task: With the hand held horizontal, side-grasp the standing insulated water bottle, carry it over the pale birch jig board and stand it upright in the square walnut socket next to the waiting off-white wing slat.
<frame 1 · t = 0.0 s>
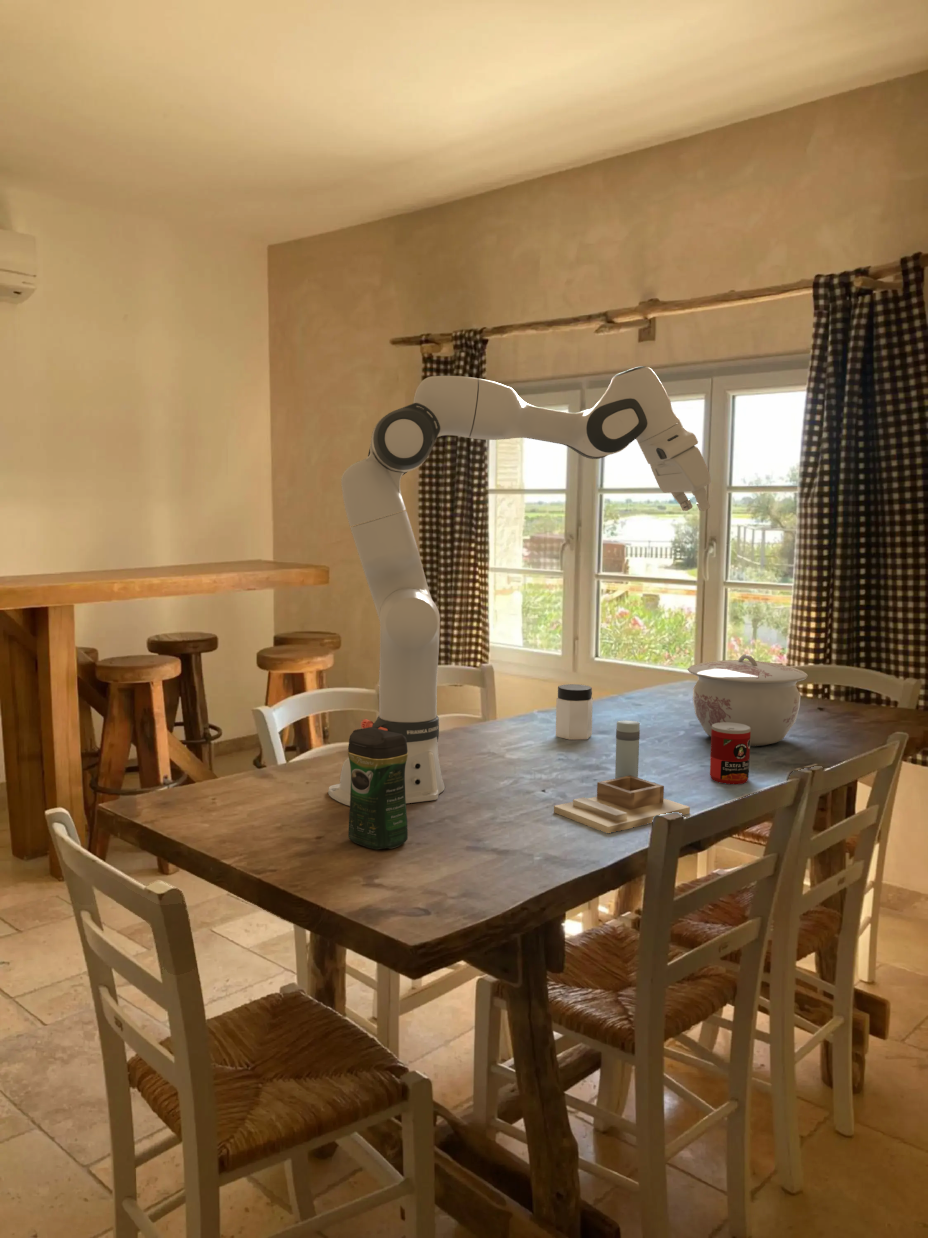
hand: (696, 509, 188), 54 cm above the table, tool tilted 30°, fingers open, 8 cm apart
insulated water bottle: (626, 788, 189), on the table
canned food: (728, 780, 196), on the table
coffee jar: (378, 843, 157), on the table
jig: (621, 813, 174), on the table
jar: (573, 737, 233), on the table
chamber pot: (744, 740, 231), on the table
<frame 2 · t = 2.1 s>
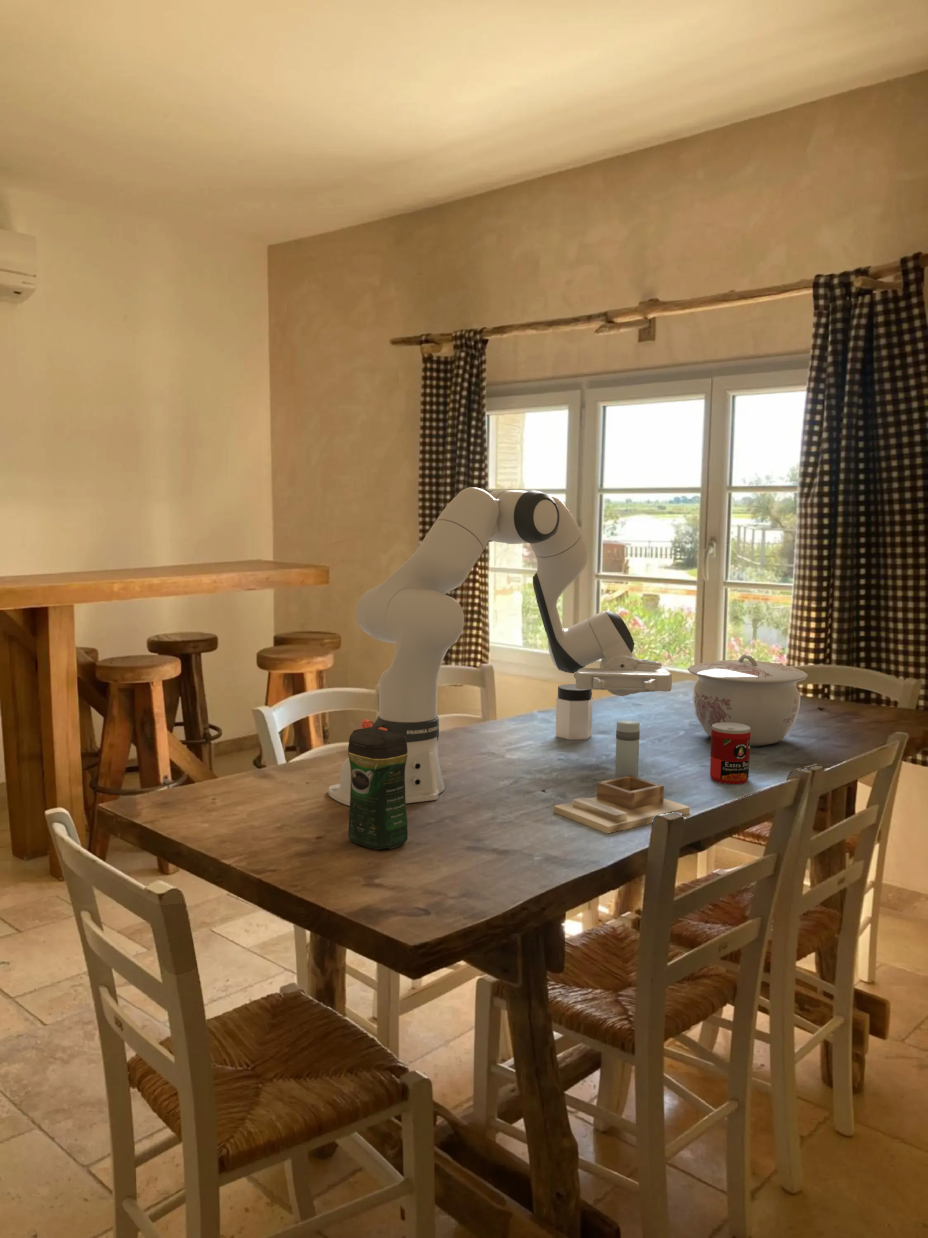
hand: (625, 686, 199), 18 cm above the table, tool horizontal, fingers open, 8 cm apart
nothing on the table moved.
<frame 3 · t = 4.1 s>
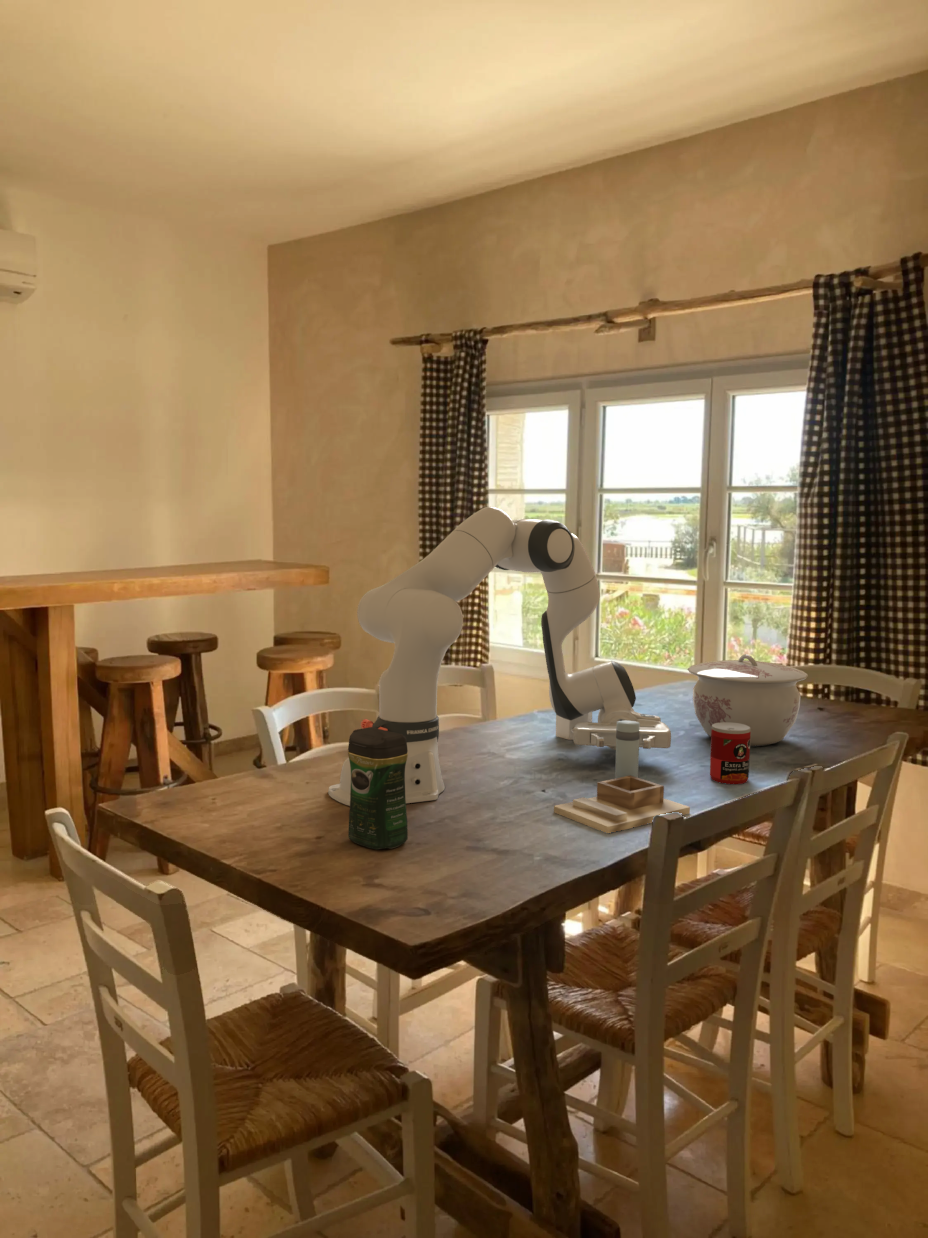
hand: (623, 744, 197), 7 cm above the table, tool horizontal, fingers open, 8 cm apart
nothing on the table moved.
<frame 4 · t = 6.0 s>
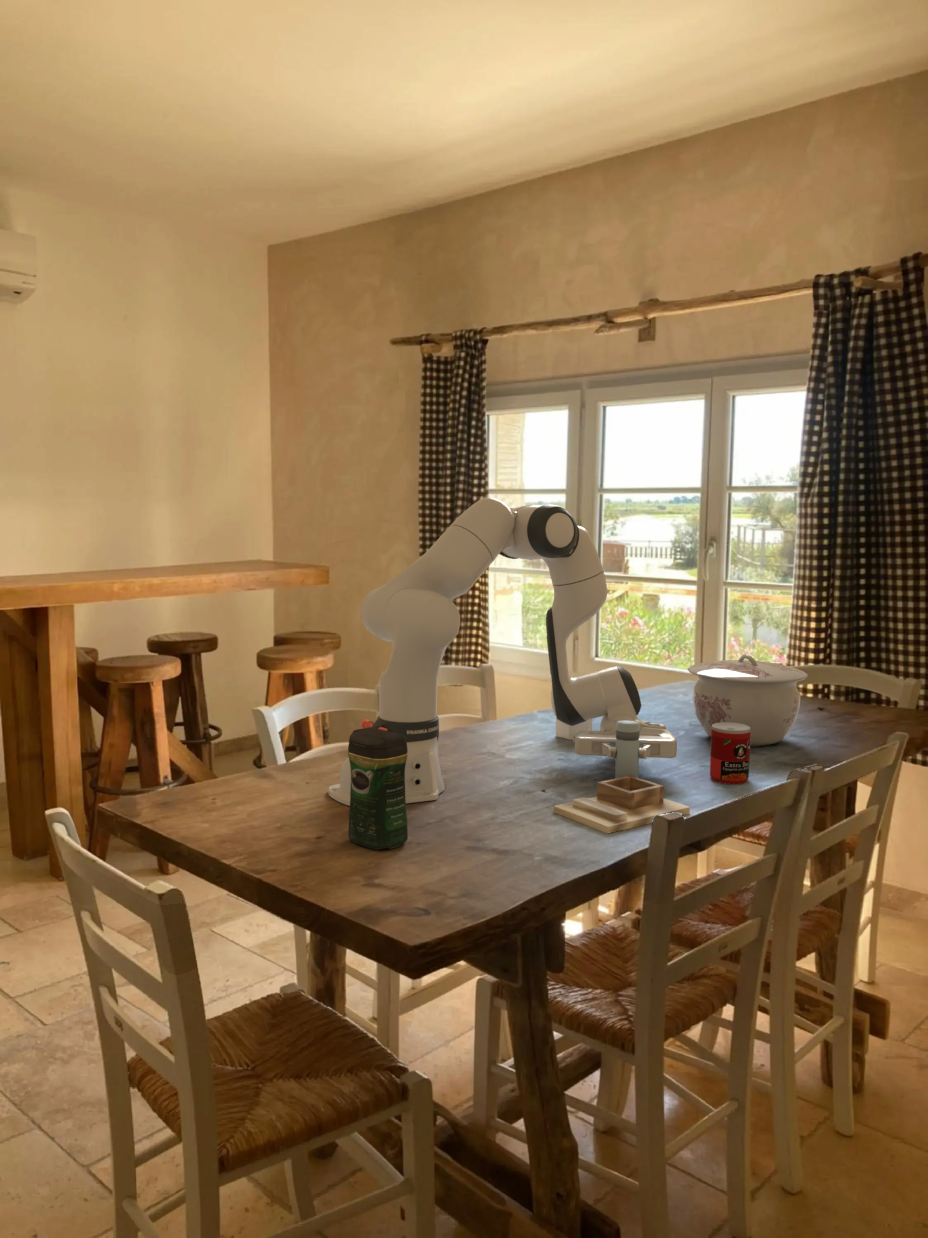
hand: (627, 754, 188), 7 cm above the table, tool horizontal, fingers closed on insulated water bottle, 4 cm apart
insulated water bottle: (626, 788, 189), on the table, touching gripper
everything else where it was.
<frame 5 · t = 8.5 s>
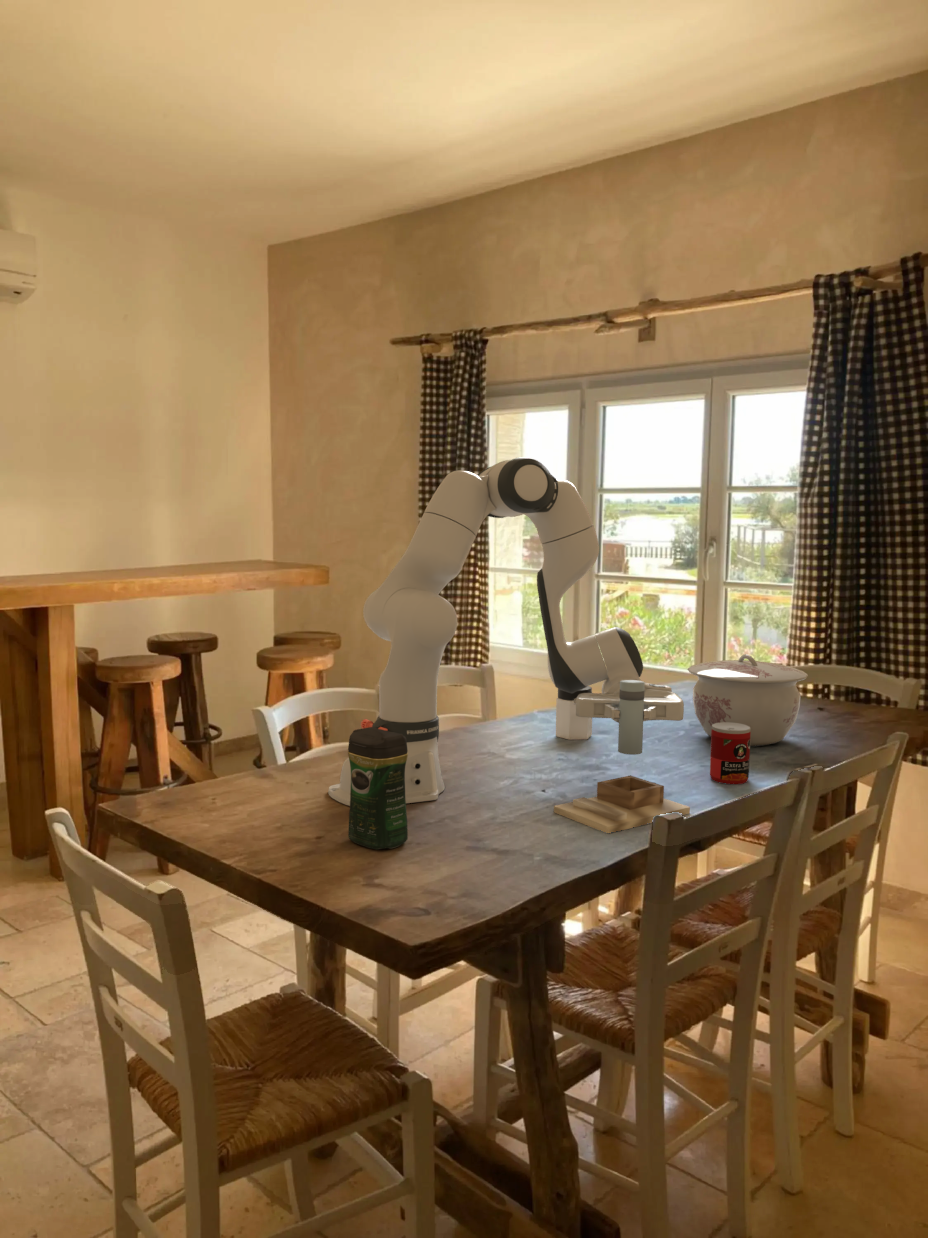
hand: (631, 715, 177), 17 cm above the table, tool horizontal, fingers closed on insulated water bottle, 4 cm apart
insulated water bottle: (630, 751, 179), point 10 cm above the table, touching gripper
everything else where it was.
when the fingers open (10 cm above the table, at t = 10.8 s): insulated water bottle drops 2 cm, resting on jig.
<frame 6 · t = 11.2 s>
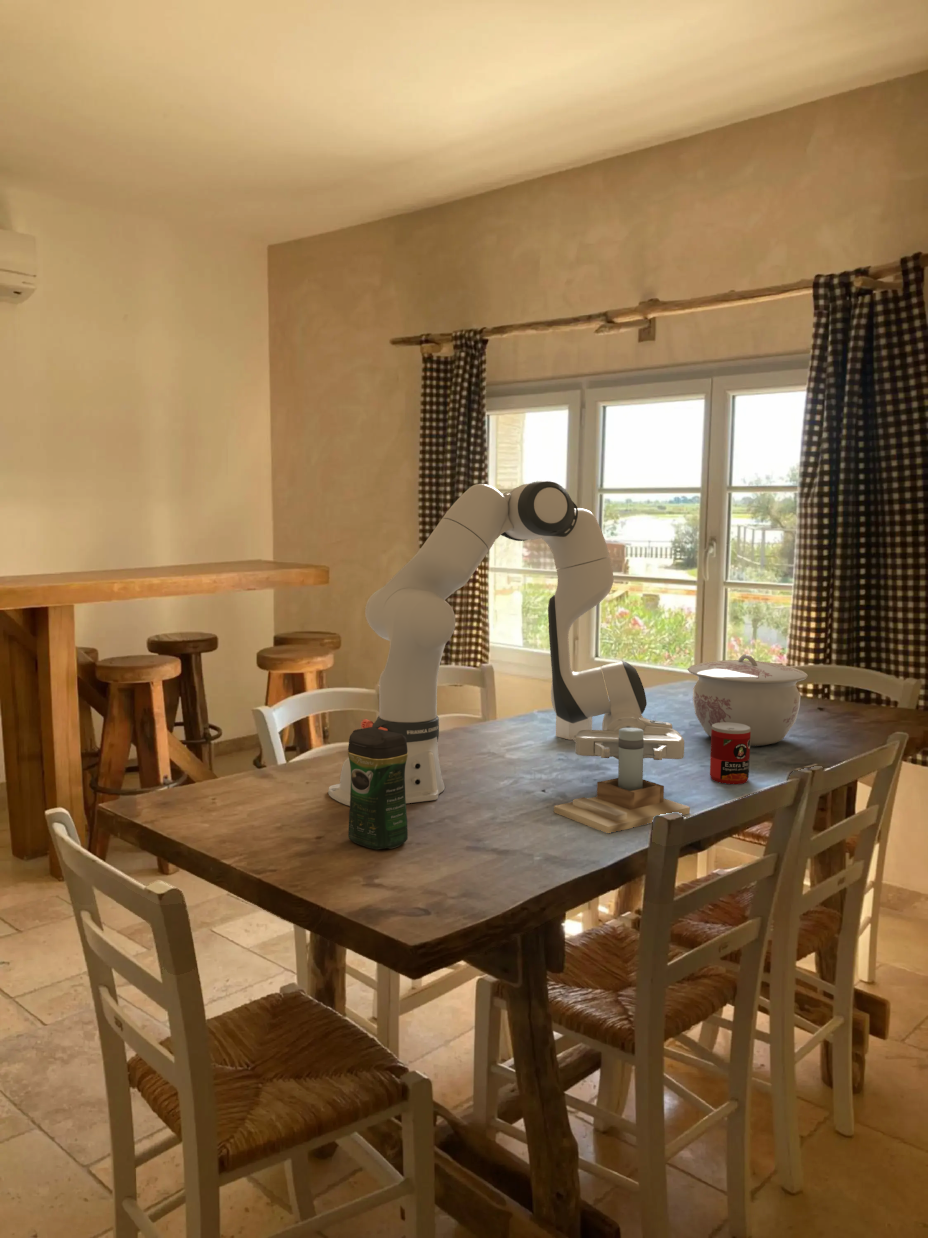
hand: (631, 754, 176), 10 cm above the table, tool horizontal, fingers open, 8 cm apart
insulated water bottle: (630, 800, 177), point 1 cm above the table, touching jig
everything else where it was.
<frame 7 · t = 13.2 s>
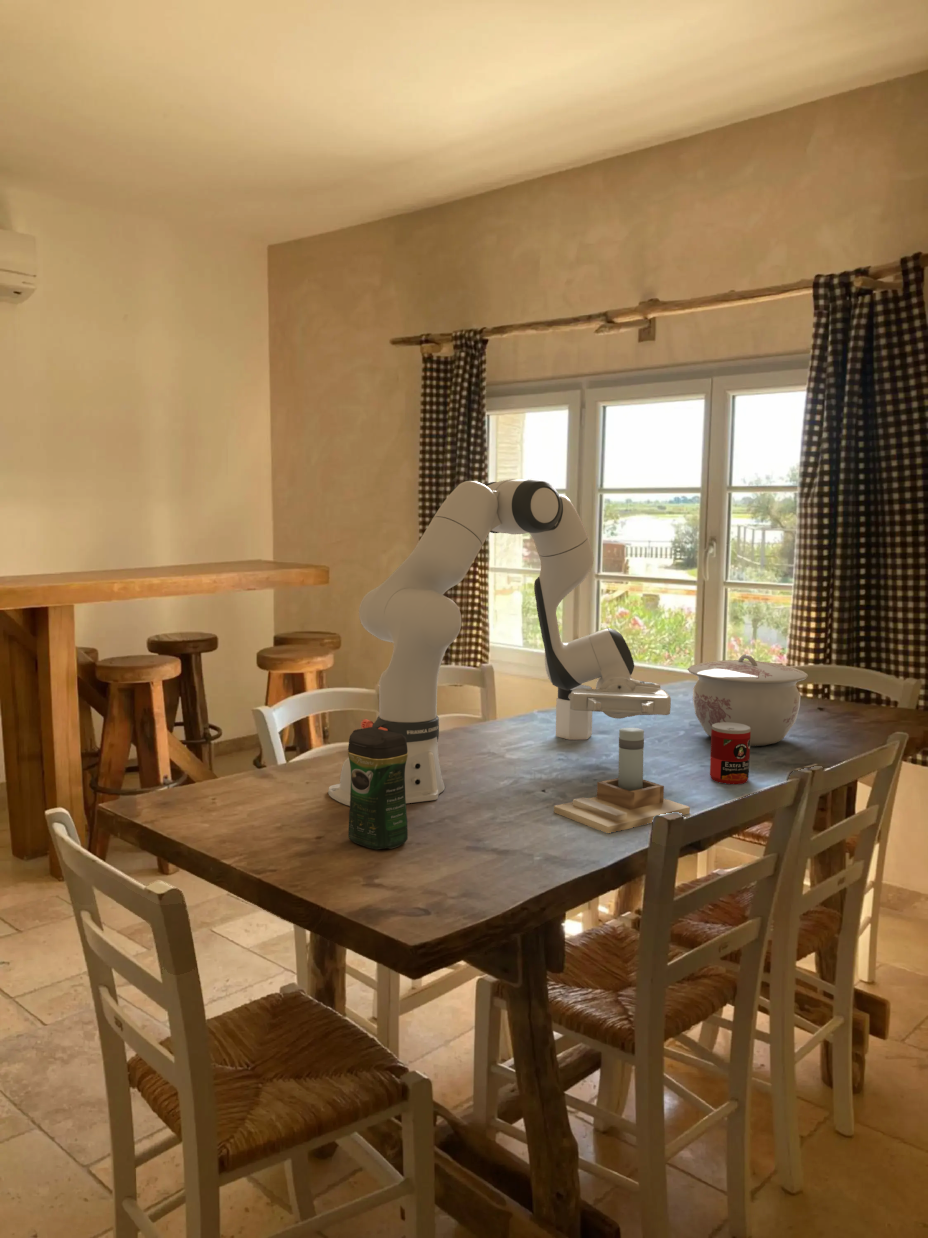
hand: (621, 708, 190), 15 cm above the table, tool horizontal, fingers open, 8 cm apart
nothing on the table moved.
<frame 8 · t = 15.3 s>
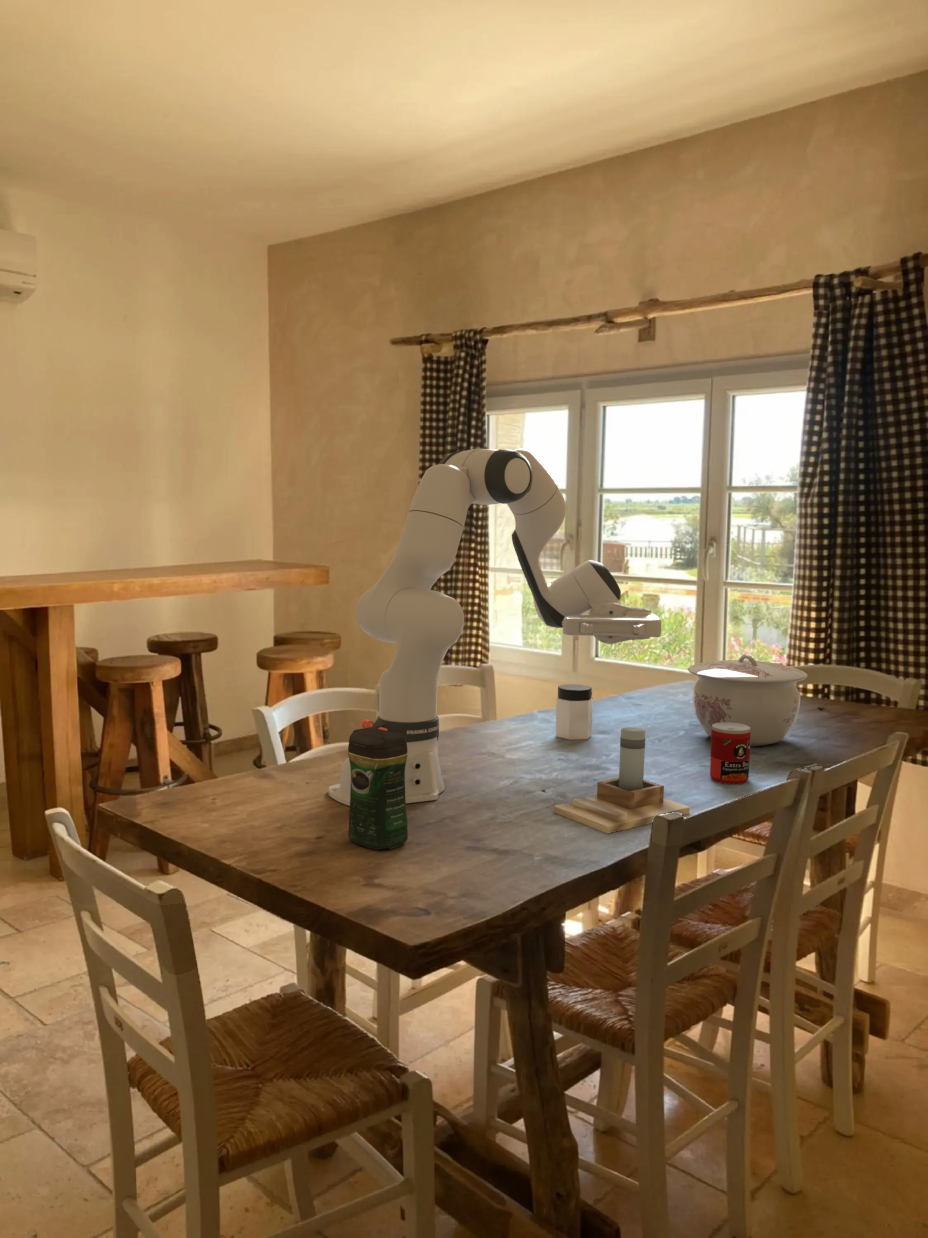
hand: (613, 630, 195), 30 cm above the table, tool horizontal, fingers open, 8 cm apart
nothing on the table moved.
at the end: insulated water bottle 0.0 cm from the target spot on the jig, point 1.3 cm above the jig's base; insulated water bottle tilted 1°; the gripper is holding nothing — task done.
